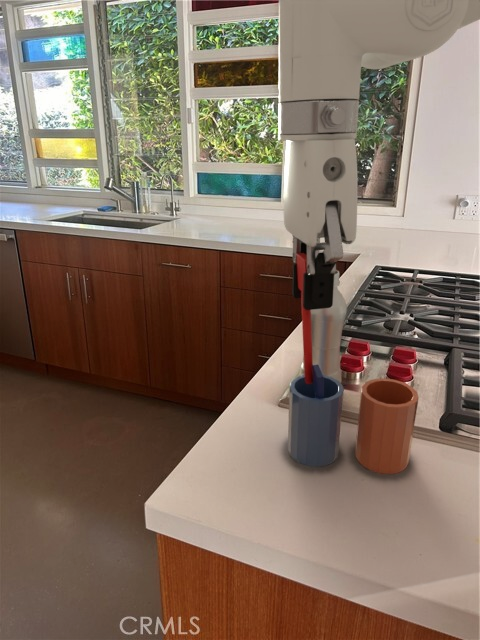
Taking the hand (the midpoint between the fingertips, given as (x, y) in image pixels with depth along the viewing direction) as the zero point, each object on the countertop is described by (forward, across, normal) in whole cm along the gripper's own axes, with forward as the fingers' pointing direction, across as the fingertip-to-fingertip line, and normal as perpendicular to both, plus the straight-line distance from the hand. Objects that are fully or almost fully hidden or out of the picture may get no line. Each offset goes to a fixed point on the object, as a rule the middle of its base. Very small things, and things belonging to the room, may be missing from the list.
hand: (311, 300), depth 52 cm
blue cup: (+21, 0, -1) cm, 21 cm away
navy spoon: (+21, 0, -2) cm, 21 cm away
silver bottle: (+22, +14, -7) cm, 27 cm away
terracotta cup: (+21, -3, -9) cm, 23 cm away
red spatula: (+11, 0, 0) cm, 11 cm away
